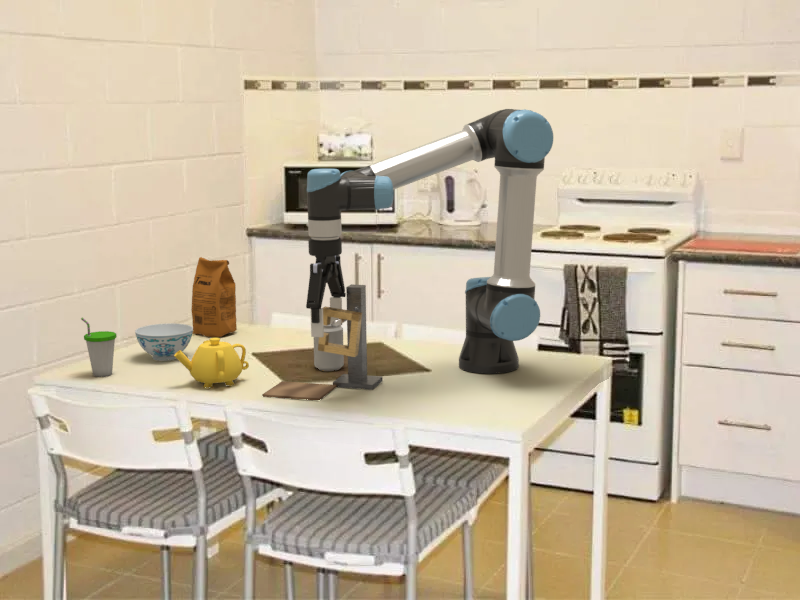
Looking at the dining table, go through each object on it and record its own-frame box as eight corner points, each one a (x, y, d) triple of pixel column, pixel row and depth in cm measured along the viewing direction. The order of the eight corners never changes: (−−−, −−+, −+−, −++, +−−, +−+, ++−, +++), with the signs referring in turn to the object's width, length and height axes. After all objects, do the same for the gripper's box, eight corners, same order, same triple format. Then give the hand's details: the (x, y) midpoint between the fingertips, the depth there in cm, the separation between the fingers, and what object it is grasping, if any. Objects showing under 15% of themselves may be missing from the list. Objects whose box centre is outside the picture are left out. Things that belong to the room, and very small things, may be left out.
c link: (358, 354, 266) (362, 312, 264) (354, 357, 264) (358, 314, 262) (321, 348, 268) (325, 306, 266) (317, 350, 266) (321, 308, 264)
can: (339, 372, 289) (338, 325, 287) (310, 371, 291) (309, 324, 289) (347, 365, 297) (346, 319, 294) (318, 363, 298) (317, 318, 296)
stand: (382, 381, 281) (381, 283, 276) (356, 403, 262) (354, 299, 257) (343, 378, 283) (341, 282, 279) (315, 400, 265) (312, 297, 260)
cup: (124, 371, 292) (121, 313, 289) (108, 379, 285) (105, 320, 282) (96, 370, 294) (93, 312, 292) (80, 377, 287) (76, 318, 284)
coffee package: (211, 327, 342) (208, 254, 338) (242, 333, 335) (239, 257, 331) (186, 334, 335) (183, 258, 330) (217, 339, 327) (214, 262, 323)
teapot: (207, 373, 290) (205, 329, 288) (254, 378, 285) (252, 334, 283) (173, 387, 277) (171, 342, 275) (222, 393, 272) (220, 347, 270)
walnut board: (336, 387, 276) (336, 384, 275) (319, 400, 264) (319, 398, 264) (281, 383, 279) (281, 381, 279) (262, 396, 268) (262, 394, 268)
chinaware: (126, 363, 301) (124, 334, 300) (152, 350, 315) (150, 322, 314) (179, 366, 298) (178, 336, 296) (203, 352, 312) (201, 324, 310)
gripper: (327, 230, 274) (329, 319, 278) (289, 244, 251) (292, 341, 256) (357, 231, 272) (359, 320, 276) (322, 245, 249) (324, 343, 253)
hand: (327, 330), depth 266 cm, fingers open, 12 cm apart
